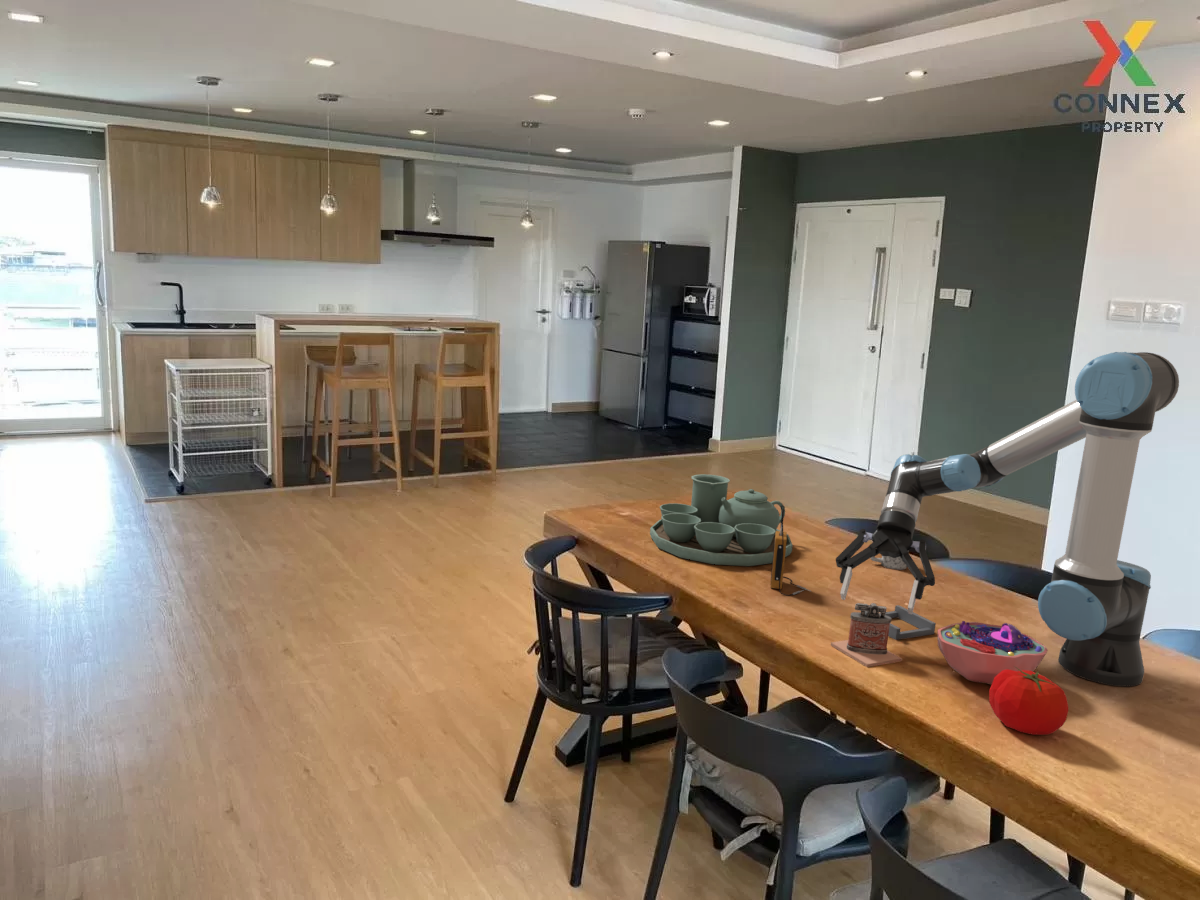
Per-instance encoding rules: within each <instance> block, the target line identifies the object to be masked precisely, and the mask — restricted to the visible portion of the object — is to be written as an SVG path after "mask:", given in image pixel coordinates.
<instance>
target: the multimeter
mask: <svg viewBox="0 0 1200 900" xmlns="http://www.w3.org/2000/svg"><path fill="white" fill-rule="evenodd" d="M782 506H783V507H784V509H785V510H786V507H785V506H784V504H783V505H782ZM782 506H781V508H780V511H781V510H782ZM784 509H783V510H782V518H781V523H780V529H779V530H780V531H776V534H775V542H774V552H773V562H772V563H771V565H772V566H771V575H770V588H771V589H776V590H779V593H780V594H781V595H783V596H787V597H790V596H793V595H797V594H801V592H803V591H809V592H811V590H810V589H808V588H807V587H804V586H801V585H798V584H795V583H792V582H793V580H792V579H791V578H790V577H787V576H784V571H785V561H786V557H785V552H786V543H787V534H788V532H787V531H784V519H785V516H784ZM784 578H785V579H788V580H789V581H790V582H789V584H790V585H792V586H796V587H797V588H800V589H802V590H798V591H795V592H793V593H790V594H786V593H782V591H781V590H782V589H783V583H784V582H783V581H784Z"/></svg>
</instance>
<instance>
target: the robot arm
mask: <svg viewBox="0 0 1200 900" xmlns="http://www.w3.org/2000/svg"><path fill="white" fill-rule="evenodd" d="M1179 379H1180V378H1179V373H1178V371H1177V369H1176V368H1175V366H1174V365H1173V364H1172V363H1171V361H1169V360H1168V359H1167V358H1166V357H1164V356H1162V355H1160V354H1156V353H1153V352H1146V351H1145V352H1143V351H1141V352H1140V351H1139V352H1127V351H1115V352H1110V353H1106V354H1102V355H1099V356H1097V357H1096V358H1093V359H1092V360H1090V361H1089V362H1088V363H1086V364H1085V365H1084V366H1083V368H1082V369H1081V370H1080V372H1079V373H1078V376H1077V377H1076V380H1075V385H1074V397H1075V399H1074V400H1073V401H1071V402H1069V403H1067V404H1065V405H1064V406H1062V407H1060V408H1057V409H1055V410H1054V411H1052V412H1049V413H1048V414H1046V415H1045V416H1042V417H1040V418H1039V419H1037V420H1035V421H1033V422H1031V423H1029V424H1027V425H1026V426H1023V427H1021V428H1019V429H1017V430H1016V431H1013V432H1012V433H1010V434H1008V435H1006V436H1005V437H1002V438H1000V439H999V440H996V441H995V442H992V443H991V444H989V445H987V446H985V447H983V448H981V449H979V450H978V451H975V452H973V453H970V454H969V453H961V454H953V455H949V456H945V457H941V458H937V459H933V460H929V461H928V460H927V459H926V458H924V457H922V456H920V455H917V454H913V455H911V454H910V453H907V454H903V455H901V456H899V457H898V458H897V459H896V461H895V462H894V466H893V468H892V470H891V472H890V476H889V477H890V478H889V483H888V485H887V486H888V487H887V491H886V494H885V497H884V500H883V504H882V507H881V511H880V512H881V513H880V515H879V519H878V523H877V525H876V530H875V531H874V532H873V533H871V532H867V531H866V529H865V528H861V529H860V530H859V532H858V534H857V536H856V537H855V538H854V539H853V540H852V542H851V543H850V544H849V545H847V546H846V547H845V548H844V549H843V551H841V553H840V554H839V555H837V556H836V558H835V563H836V567H837V568H841V571H840V574H839V582H840V584H842V586H841V588H840V593H839V595H840V598H841V600H843V601H846V599H847V598H846V597H847V594H848V591H849V588H850V584H851V580H852V578H853V569H855V568H857V567H859V566H860V565H861V564H863V563H865V562H866V561H867V560H869V559H871V557H876V556H878V555H880V557H882V556H890V557H892V558H897V557H901V559H902V560H903V562H904V563H905V564H906V566H907V568H908V569H907V570H909V572H910V573H911V575H912V576H913V578H914V580H913V584H912V587H911V588H912V589H911V592H910V593H911V594H910V596H909V601H908V606H907V609H908V614H912V613H913V612H914V608H915V604H916V600H922V598H923V594H924V590H925V587H927V586H931V587H934V586H935V585H936V578H935V575H934V571H933V568H932V566H931V562H930V559H929V557H928V554H927V543H926V539H920V540H919V541H917V540H915V541H914V540H913V538H914V537H913V536H914V532H915V529H916V522H917V520H918V515H919V512H920V507H921V504H922V500H923V498H924V497H932V496H935V495H943V494H948V493H955V492H962V491H968V490H970V489H976V488H983V487H985V488H986V487H991V486H993V485H995V484H998V483H1000V482H1001V481H1002V480H1003V479H1004V478H1005V477H1007V476H1008V475H1010V474H1013V473H1014V472H1017V471H1019V470H1021V469H1023V468H1025V467H1028V466H1029V465H1031V464H1034V463H1035V462H1038V461H1040V460H1041V459H1043V458H1044V459H1045V458H1046V457H1048V456H1050V455H1052V454H1054V453H1057V452H1059V451H1060V450H1062V449H1065V448H1067V447H1069V446H1071V445H1073V444H1074V443H1077V442H1079V441H1081V440H1083V439H1085V441H1084V445H1083V446H1084V447H1083V451H1082V452H1083V453H1082V458H1081V461H1080V462H1081V463H1080V469H1079V474H1078V480H1077V487H1076V491H1075V496H1074V503H1073V508H1072V514H1071V520H1070V525H1069V530H1068V536H1067V537H1068V538H1067V541H1066V547H1065V553H1064V554H1063V555H1062V556H1060V557H1059V558H1056V559H1055V561H1054V565H1053V570H1052V576H1051V581H1050V582H1049V583H1047V584H1046V585H1045V586H1044V587H1043V588H1042V589H1041V591H1040V593H1039V595H1038V599H1037V608H1038V613H1039V615H1040V617H1041V619H1042V621H1043V622H1044V623H1045V625H1046V626H1047V628H1049V630H1051V631H1052V632H1053V633H1055V634H1056V635H1057V636H1060V637H1061V638H1063V639H1065V641H1064V642H1063V644H1062V646H1061V648H1060V650H1059V654H1058V659H1057V660H1058V664H1059V665H1060V667H1062V668H1063V669H1064V670H1065V671H1067V672H1070V673H1071V674H1073V675H1075V676H1077V677H1080V678H1082V679H1086V680H1088V681H1091V682H1094V683H1098V684H1103V685H1108V686H1114V687H1135V686H1138V685H1140V684H1142V683H1143V681H1144V674H1145V666H1144V661H1143V656H1142V655H1143V654H1142V650H1141V645H1140V642H1141V641H1140V640H1141V636H1142V635H1141V633H1142V629H1143V625H1144V619H1145V614H1146V613H1145V612H1146V608H1147V603H1148V600H1149V599H1148V598H1149V593H1150V589H1151V588H1152V586H1151V580H1152V575H1151V573H1150V571H1149V570H1148V569H1146V568H1144V567H1142V566H1140V565H1137V564H1134V563H1130V562H1127V561H1123V560H1118V558H1119V553H1120V547H1121V542H1122V541H1121V540H1122V538H1123V537H1122V536H1123V531H1124V526H1125V522H1126V521H1125V520H1126V515H1127V509H1128V506H1129V505H1128V504H1129V500H1130V495H1131V488H1132V484H1133V479H1134V472H1135V468H1136V467H1135V466H1136V462H1137V458H1138V451H1139V447H1140V441H1141V439H1142V438H1144V437H1145V436H1146V435H1148V434H1150V433H1151V432H1152V430H1153V427H1154V419H1155V416H1156V413H1157V412H1159V411H1161V410H1163V409H1165V408H1166V407H1168V406H1169V405H1170V404H1171V403H1172V401H1173V400H1174V399H1175V397H1176V396H1177V393H1178V390H1179V388H1180V380H1179ZM871 540H872V542H871V543H870V544H869V545H868V546H867V547H866V548H864V549H863V550H860V549H861V548H862V547H863V545H864V544H867V543H868V542H869V541H871ZM913 548H914V549H915V552H917V553H919V558H920V561H921V564H922V567H923V570H924V574H925V575H924V574H923V573H922V572H921V570H920V569H919V567H918V565H917V564H916V563H915V561H914V560H913V558H912V555H910V553H909V552H908V551H910V550H911V549H913ZM859 550H860V552H858V551H859Z"/></svg>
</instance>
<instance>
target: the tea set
mask: <svg viewBox="0 0 1200 900" xmlns="http://www.w3.org/2000/svg"><path fill="white" fill-rule="evenodd" d="M691 480H692V491H691V503H690V505H689V504H684V503H677V502H676V503H675V502H674V503H670V502H669V503H664V504H661V505H660V506H659V509H660V514H661V516H660V518H661V519H659V520H657V521H656V522H655V523H654V524H653V525H652V526H650V528H649V530H650V531H649V535H650V538H651V539H652V541H653V542H654V544H655V545H656V547H657V548H658V549H659V550H662V551H665V552H667V553H669V554H671V555H673V556H677V557H678V558H680V559H685V560H689V559H690V560H691V561H695V562H699V563H704V564H710V565H714V564H715V566H718V565H719V566H734V567H738V566H739V567H754V566H760V565H768V564H772V562H773V552H774V542H775V534H776V531H780V529H778V527H779V525H781V518H782V510H783V509H784V507H785V506H784V504H783V503H782V502H781V501H779V500H772V501H769V500H768V496H767V495H766V494H764V493H763V492H759V491H755V489H752V488H750V489H748V490H739V491H737V492H735V493H734V495H733V497H732V498H730V499H728V498H727V497H728V489H729V488H728V485H729V483H730V481H731V480H730V479H729V478H728V477H725V476H723V475H717V474H695V475H691ZM775 505H777V506H779V508H780V512H779V510H778V509H777V507H776V506H775ZM782 505H783V506H784V507H783V506H782ZM781 506H782V510H781ZM785 516H786V508H785V509H784V517H785ZM793 545H794V544H793V542H792V540H791V537H790V535H789V534H788V533H787V543H786V552H785V558H787V557H788V556H790V555H791V553H792V552H793Z"/></svg>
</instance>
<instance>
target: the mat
mask: <svg viewBox="0 0 1200 900" xmlns="http://www.w3.org/2000/svg"><path fill="white" fill-rule="evenodd" d="M848 640H849V639H844V640H839V641H837V640H836V641H833V642H830V646H831V647H832V648H834V649H836V650H838V651H839V652H841V653H842V654H844V655H846V656H847V657H850V658H851V659H853V660H854V661H856V662H858V663H859V664H861V665H863V666H864V667H866V668H869V667H875V666H880V665H886V664H894V663H898V662H902V660H903V658H902V657H900V656H899V655H896V654H895V653H893V652H891V651H889V650H888V649H887V654H885V655H880V654H866V653H859V652H853V651H849V650H848V649H847V643H848Z"/></svg>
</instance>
